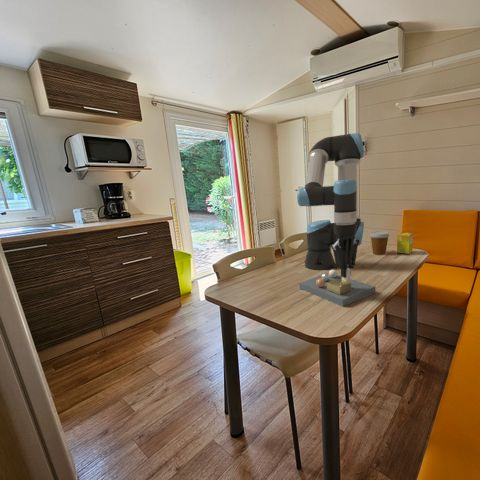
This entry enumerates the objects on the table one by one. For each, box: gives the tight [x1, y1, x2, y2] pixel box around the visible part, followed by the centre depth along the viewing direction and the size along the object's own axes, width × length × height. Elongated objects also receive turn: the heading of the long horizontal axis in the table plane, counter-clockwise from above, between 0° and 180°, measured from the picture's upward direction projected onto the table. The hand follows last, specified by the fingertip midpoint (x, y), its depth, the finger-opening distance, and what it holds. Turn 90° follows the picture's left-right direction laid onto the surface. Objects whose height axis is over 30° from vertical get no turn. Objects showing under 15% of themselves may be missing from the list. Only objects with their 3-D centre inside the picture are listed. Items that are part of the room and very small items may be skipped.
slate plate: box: [298, 272, 376, 307], centre depth 105 cm, size 22×18×2 cm
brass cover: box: [327, 279, 351, 295], centre depth 98 cm, size 6×6×3 cm
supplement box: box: [396, 232, 414, 256], centre depth 143 cm, size 6×6×11 cm
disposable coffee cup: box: [369, 230, 390, 256], centre depth 147 cm, size 10×10×12 cm
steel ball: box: [320, 272, 330, 281], centre depth 108 cm, size 3×3×3 cm
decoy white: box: [328, 269, 338, 278], centre depth 112 cm, size 3×3×3 cm
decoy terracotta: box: [316, 279, 325, 287], centre depth 103 cm, size 3×3×3 cm
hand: (345, 284), depth 100 cm, fingers closed
